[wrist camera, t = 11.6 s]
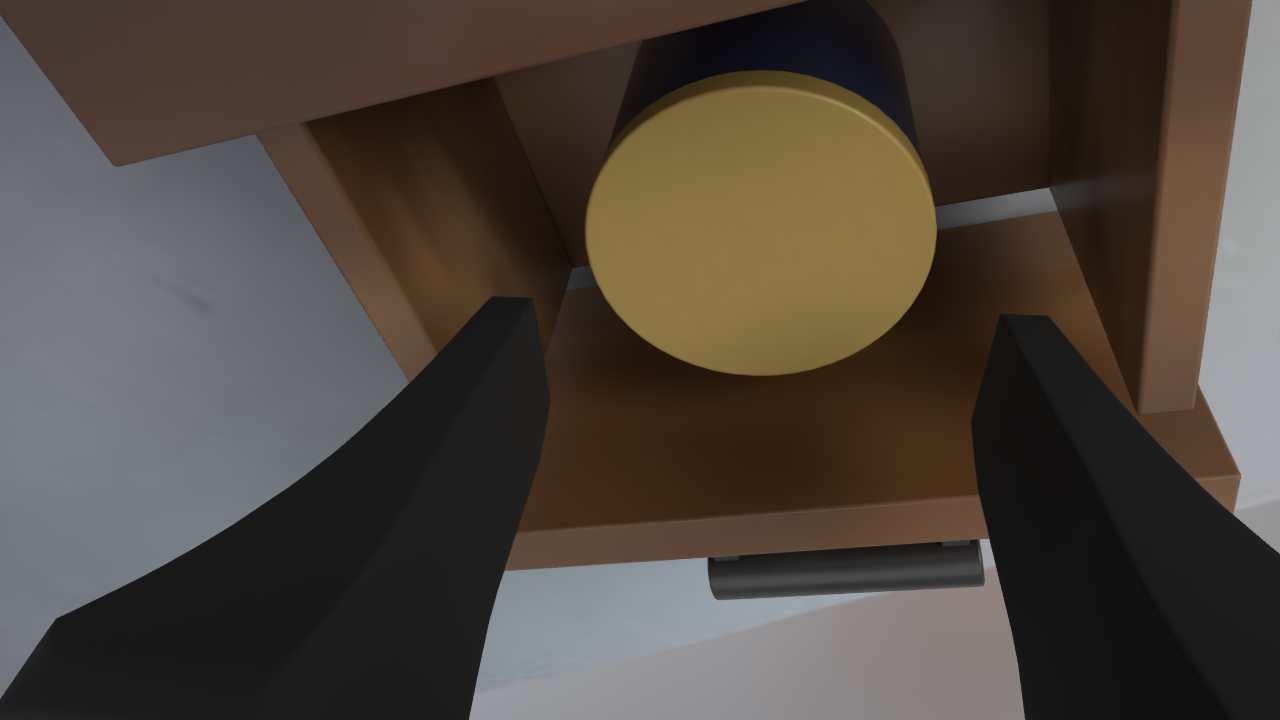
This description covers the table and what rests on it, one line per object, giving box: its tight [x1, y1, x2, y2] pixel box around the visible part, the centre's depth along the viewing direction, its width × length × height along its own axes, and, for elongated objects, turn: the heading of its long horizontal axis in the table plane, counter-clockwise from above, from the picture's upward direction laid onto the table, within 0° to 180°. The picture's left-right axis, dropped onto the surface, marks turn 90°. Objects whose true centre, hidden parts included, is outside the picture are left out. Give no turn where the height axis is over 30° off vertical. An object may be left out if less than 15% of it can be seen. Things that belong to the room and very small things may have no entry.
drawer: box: [256, 0, 1252, 600], centre depth 16 cm, size 19×13×8 cm
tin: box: [584, 0, 937, 376], centre depth 16 cm, size 6×6×5 cm
